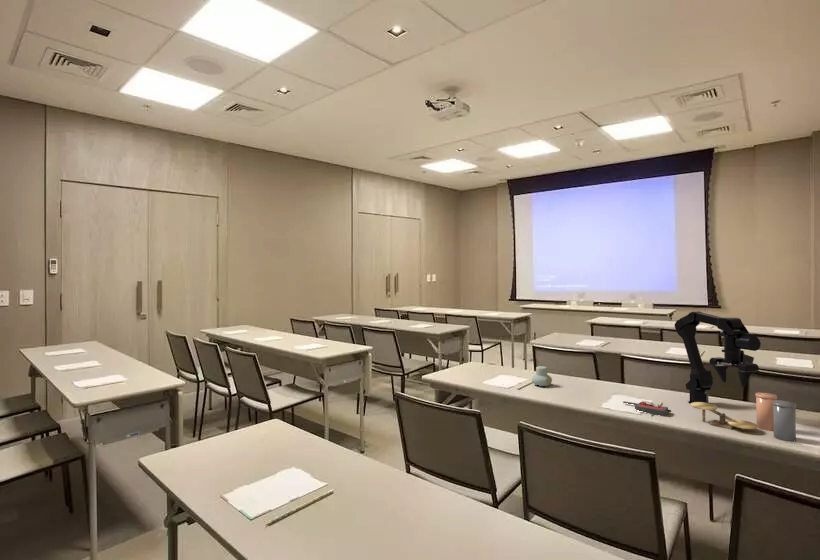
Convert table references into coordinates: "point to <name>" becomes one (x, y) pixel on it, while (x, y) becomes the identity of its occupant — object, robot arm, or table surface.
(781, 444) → the table surface
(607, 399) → the table surface
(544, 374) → the air freshener
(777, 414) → the charcoal cup
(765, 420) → the terracotta cup
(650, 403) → the walkie-talkie
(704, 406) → the balance
